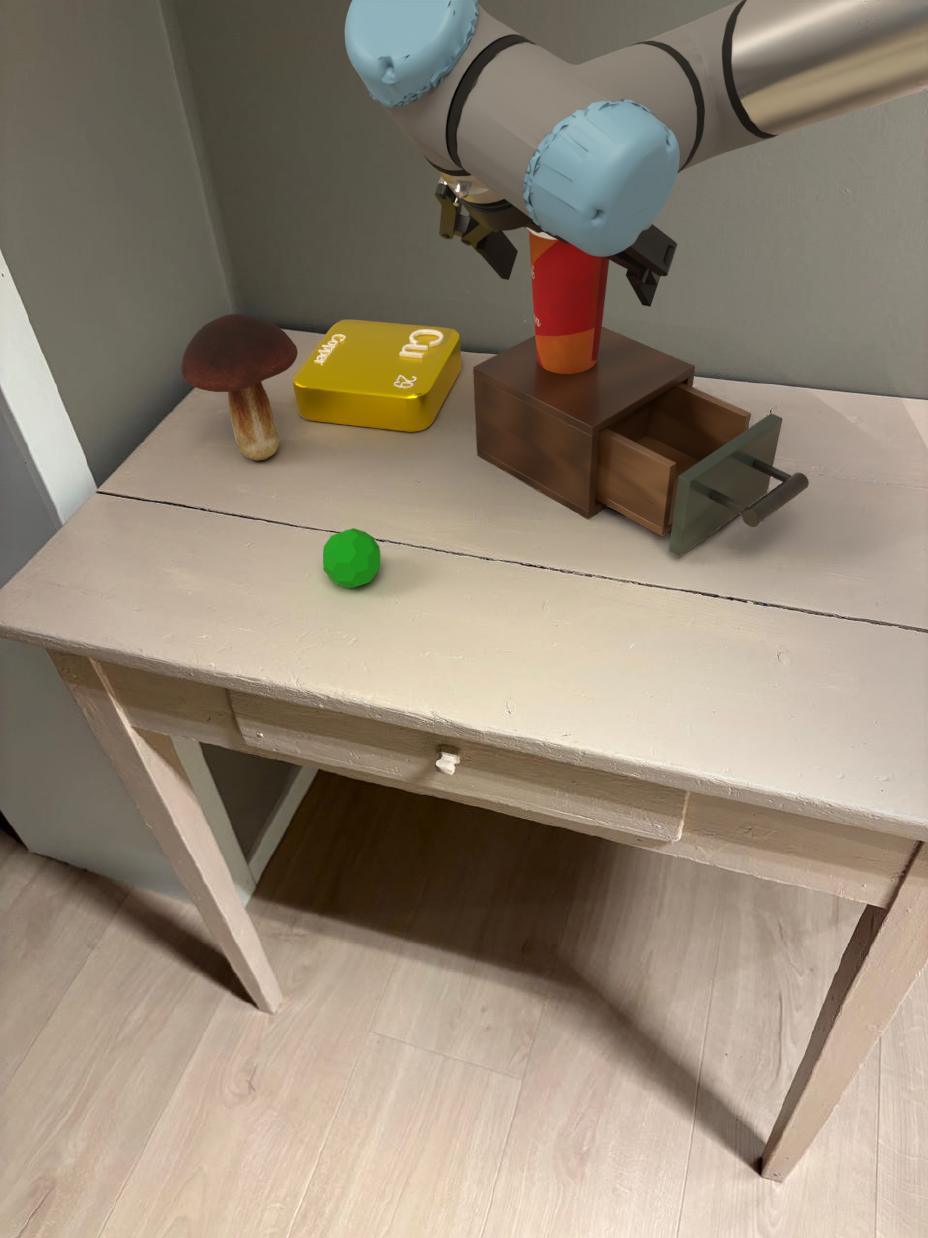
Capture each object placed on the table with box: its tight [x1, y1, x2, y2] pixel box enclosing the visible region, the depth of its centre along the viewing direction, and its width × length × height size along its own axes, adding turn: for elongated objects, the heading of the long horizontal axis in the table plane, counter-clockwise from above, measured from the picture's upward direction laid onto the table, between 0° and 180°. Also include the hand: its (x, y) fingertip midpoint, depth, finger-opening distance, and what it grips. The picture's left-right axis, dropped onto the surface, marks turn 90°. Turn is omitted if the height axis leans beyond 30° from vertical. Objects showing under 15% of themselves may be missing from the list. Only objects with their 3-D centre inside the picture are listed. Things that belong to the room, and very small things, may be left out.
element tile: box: [292, 319, 463, 433], centre depth 103 cm, size 15×15×5 cm
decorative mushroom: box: [180, 313, 299, 462], centre depth 92 cm, size 11×11×15 cm
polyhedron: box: [322, 527, 381, 589], centre depth 81 cm, size 5×5×5 cm
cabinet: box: [472, 326, 696, 520], centre depth 91 cm, size 15×14×10 cm
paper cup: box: [525, 227, 610, 374], centre depth 84 cm, size 8×8×14 cm
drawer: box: [595, 382, 810, 558], centre depth 84 cm, size 19×13×8 cm
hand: (578, 277), depth 85 cm, fingers open, 13 cm apart
